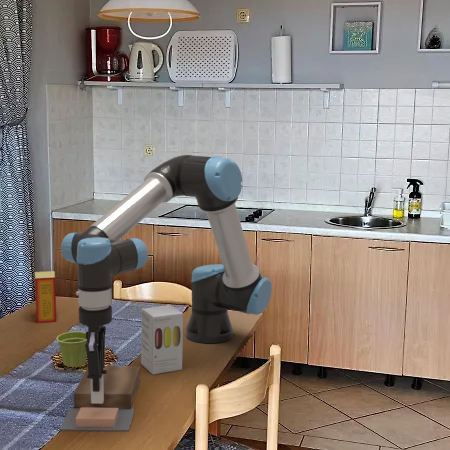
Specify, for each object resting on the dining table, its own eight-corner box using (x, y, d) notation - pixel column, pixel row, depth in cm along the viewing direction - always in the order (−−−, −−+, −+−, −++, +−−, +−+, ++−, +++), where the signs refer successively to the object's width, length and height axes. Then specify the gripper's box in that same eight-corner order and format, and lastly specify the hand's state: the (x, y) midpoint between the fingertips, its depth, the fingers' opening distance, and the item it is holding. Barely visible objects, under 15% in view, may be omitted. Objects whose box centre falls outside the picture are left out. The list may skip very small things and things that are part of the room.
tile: (114, 419, 161) (114, 427, 161) (118, 407, 166) (118, 415, 167) (75, 418, 161) (75, 426, 161) (80, 407, 167) (81, 415, 167)
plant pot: (74, 374, 192) (74, 344, 191) (50, 367, 197) (49, 338, 195) (98, 364, 200) (97, 335, 198) (73, 357, 205) (73, 329, 203)
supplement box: (152, 375, 192) (151, 317, 189) (140, 364, 200) (139, 308, 197) (183, 369, 197) (183, 312, 194) (170, 358, 205) (170, 303, 202)
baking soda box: (36, 314, 244) (35, 270, 242) (55, 313, 246) (54, 269, 243) (36, 323, 235) (34, 277, 233) (56, 321, 237) (54, 276, 234)
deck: (140, 380, 189) (139, 366, 188) (131, 409, 171) (130, 394, 170) (88, 379, 189) (88, 365, 188) (74, 408, 171) (73, 393, 170)
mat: (134, 410, 171) (134, 408, 171) (128, 431, 160) (128, 429, 160) (69, 409, 171) (69, 408, 171) (59, 430, 160) (59, 429, 160)
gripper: (84, 297, 165) (86, 390, 170) (72, 314, 153) (75, 414, 157) (115, 297, 165) (117, 390, 170) (106, 314, 153) (109, 414, 157)
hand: (97, 402), depth 163 cm, fingers closed
